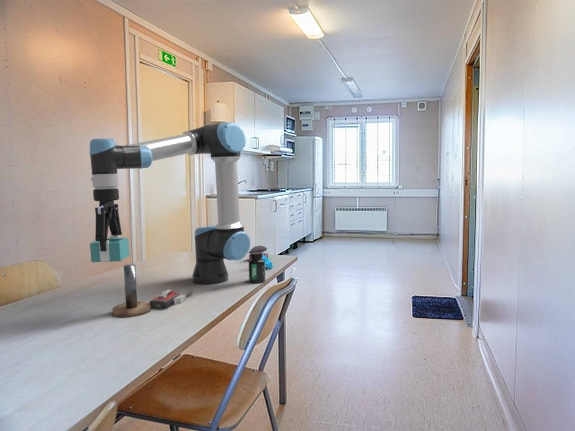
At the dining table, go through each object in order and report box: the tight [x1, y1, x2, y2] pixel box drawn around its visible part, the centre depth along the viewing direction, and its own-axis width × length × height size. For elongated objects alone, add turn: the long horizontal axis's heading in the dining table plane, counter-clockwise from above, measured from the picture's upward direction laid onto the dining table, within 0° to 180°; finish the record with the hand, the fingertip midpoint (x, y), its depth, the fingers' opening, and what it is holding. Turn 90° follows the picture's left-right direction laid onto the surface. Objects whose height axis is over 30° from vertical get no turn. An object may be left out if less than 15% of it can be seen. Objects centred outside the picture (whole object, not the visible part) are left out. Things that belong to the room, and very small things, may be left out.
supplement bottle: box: [248, 252, 266, 284], centre depth 184 cm, size 7×7×12 cm
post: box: [123, 263, 138, 309], centre depth 146 cm, size 4×4×14 cm
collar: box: [89, 237, 130, 263], centre depth 142 cm, size 9×9×6 cm
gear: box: [261, 252, 274, 270], centre depth 211 cm, size 11×6×10 cm
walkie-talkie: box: [148, 289, 194, 310], centre depth 158 cm, size 9×4×20 cm
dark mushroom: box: [248, 245, 269, 260], centre depth 229 cm, size 11×10×10 cm
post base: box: [111, 301, 152, 318], centre depth 147 cm, size 12×12×2 cm
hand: (110, 258), depth 143 cm, fingers closed on collar, 9 cm apart
